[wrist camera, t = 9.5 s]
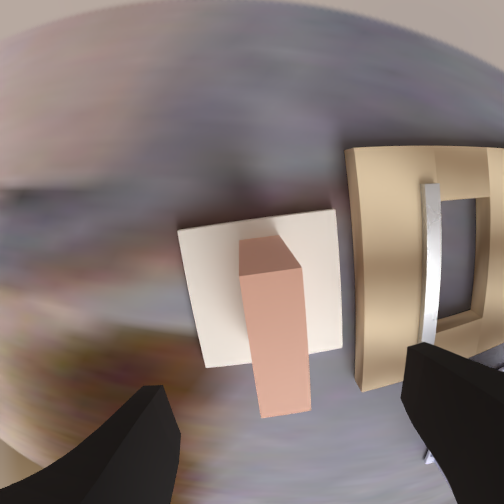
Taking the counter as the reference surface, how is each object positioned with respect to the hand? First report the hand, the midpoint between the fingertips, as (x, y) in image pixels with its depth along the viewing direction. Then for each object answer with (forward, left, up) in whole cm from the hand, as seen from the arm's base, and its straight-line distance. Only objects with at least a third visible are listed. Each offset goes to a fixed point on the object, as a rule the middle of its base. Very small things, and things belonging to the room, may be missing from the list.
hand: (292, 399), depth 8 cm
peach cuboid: (0, 0, -8) cm, 8 cm away
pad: (0, 0, -9) cm, 9 cm away
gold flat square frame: (0, -12, -9) cm, 15 cm away
